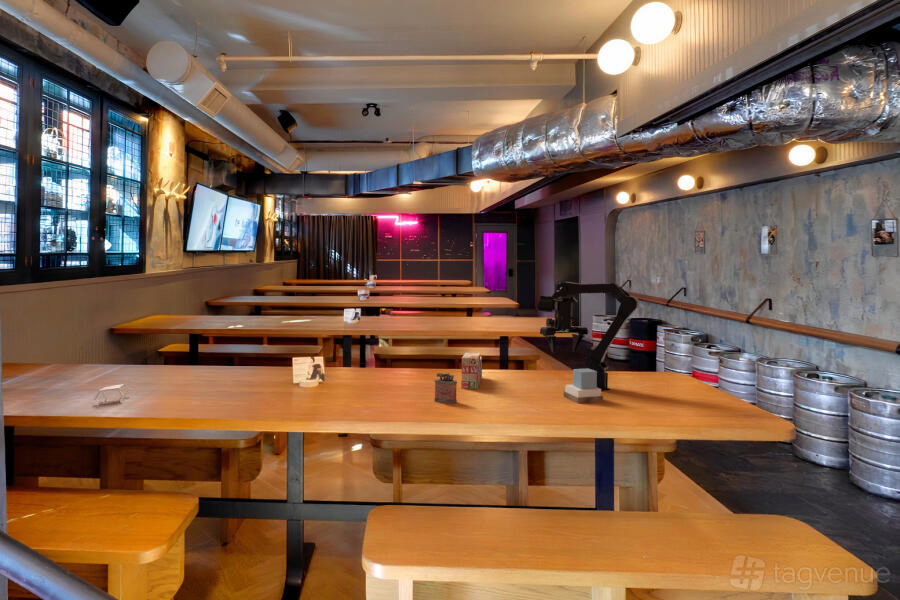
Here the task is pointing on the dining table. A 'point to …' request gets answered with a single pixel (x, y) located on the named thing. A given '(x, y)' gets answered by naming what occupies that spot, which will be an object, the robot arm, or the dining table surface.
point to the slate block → (585, 378)
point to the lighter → (445, 388)
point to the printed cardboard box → (471, 370)
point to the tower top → (582, 391)
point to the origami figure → (115, 387)
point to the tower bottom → (583, 398)
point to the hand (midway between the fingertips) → (563, 352)
